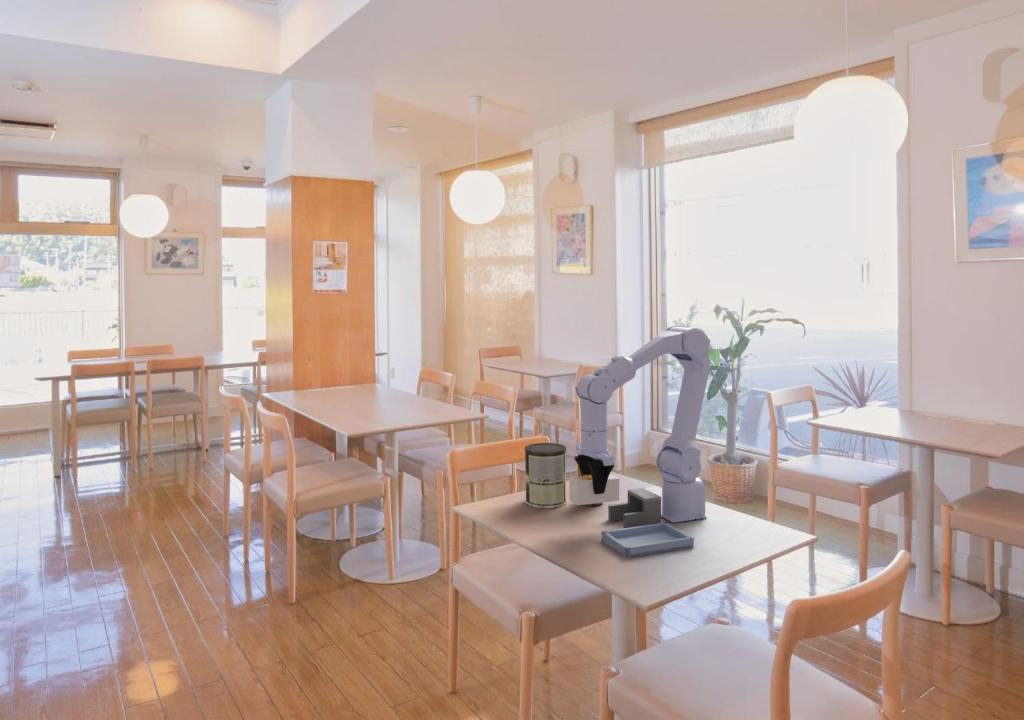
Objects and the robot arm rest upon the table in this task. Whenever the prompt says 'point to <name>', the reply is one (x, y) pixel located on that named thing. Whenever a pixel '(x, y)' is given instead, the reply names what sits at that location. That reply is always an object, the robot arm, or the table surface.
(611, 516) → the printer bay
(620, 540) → the tray
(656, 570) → the table surface
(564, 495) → the coffee can
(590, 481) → the white block with knob
